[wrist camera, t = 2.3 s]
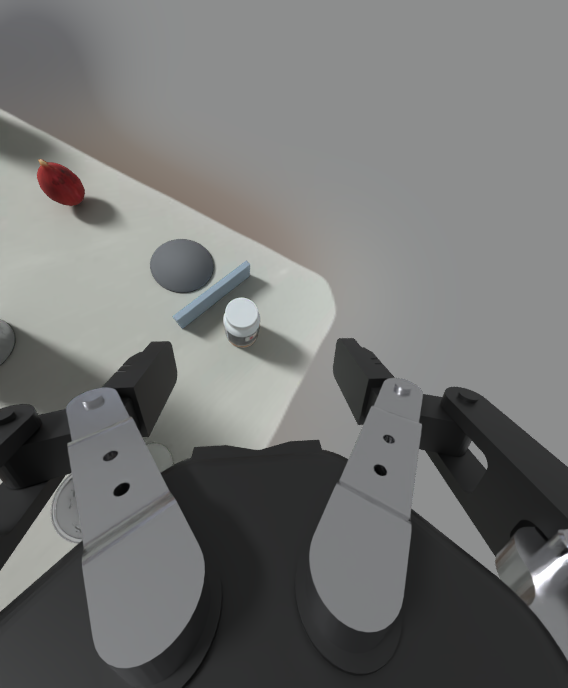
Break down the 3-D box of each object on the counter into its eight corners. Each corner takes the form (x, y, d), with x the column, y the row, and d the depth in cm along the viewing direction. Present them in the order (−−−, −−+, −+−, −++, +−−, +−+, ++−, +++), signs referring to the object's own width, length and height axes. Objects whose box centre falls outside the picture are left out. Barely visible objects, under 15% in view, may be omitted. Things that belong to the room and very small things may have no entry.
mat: (178, 304, 43) (178, 303, 43) (137, 262, 44) (136, 260, 43) (225, 269, 46) (225, 268, 46) (186, 230, 47) (186, 229, 47)
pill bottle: (264, 335, 44) (270, 315, 35) (239, 354, 43) (239, 339, 33) (244, 312, 45) (245, 286, 35) (219, 330, 43) (213, 308, 34)
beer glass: (130, 499, 35) (53, 562, 20) (121, 450, 36) (42, 477, 22) (180, 479, 36) (141, 524, 22) (170, 433, 38) (126, 448, 23)
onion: (95, 192, 46) (67, 149, 38) (91, 217, 44) (60, 177, 37) (60, 188, 45) (24, 143, 37) (55, 214, 43) (15, 173, 36)
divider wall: (182, 328, 42) (176, 320, 38) (178, 324, 42) (172, 316, 38) (249, 276, 47) (250, 264, 43) (245, 272, 47) (246, 260, 43)
